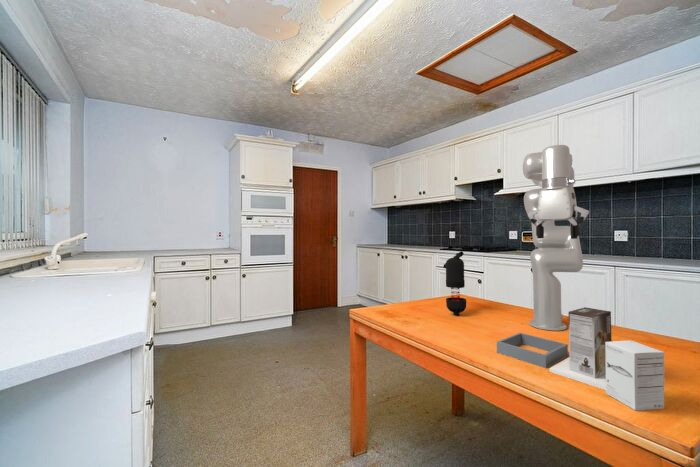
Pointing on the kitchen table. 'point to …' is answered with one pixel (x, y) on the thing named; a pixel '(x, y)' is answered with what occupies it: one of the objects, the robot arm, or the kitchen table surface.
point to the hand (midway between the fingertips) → (556, 238)
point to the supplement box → (635, 374)
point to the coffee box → (589, 340)
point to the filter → (455, 283)
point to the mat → (578, 374)
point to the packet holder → (543, 360)
